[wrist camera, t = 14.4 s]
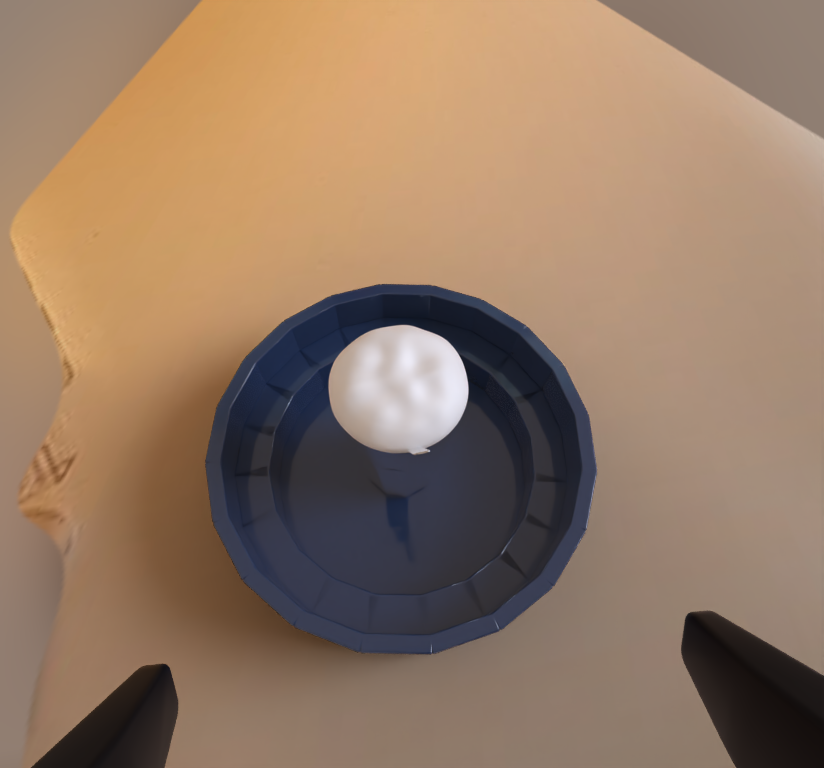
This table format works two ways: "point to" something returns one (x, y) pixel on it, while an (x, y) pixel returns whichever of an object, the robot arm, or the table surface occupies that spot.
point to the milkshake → (398, 403)
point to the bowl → (390, 514)
